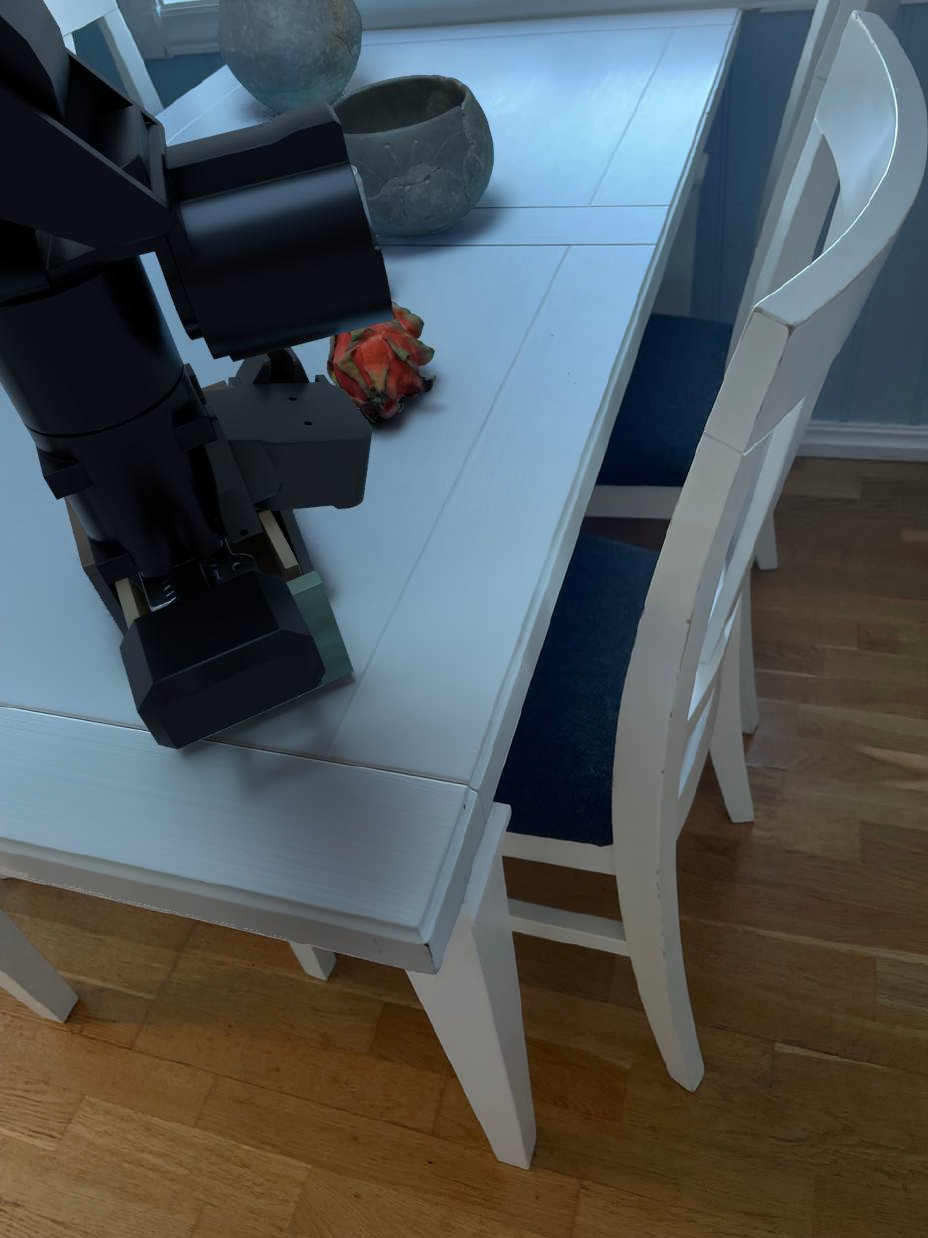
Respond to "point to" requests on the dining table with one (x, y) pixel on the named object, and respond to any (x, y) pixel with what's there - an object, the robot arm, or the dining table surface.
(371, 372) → the dragon fruit
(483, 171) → the bowl
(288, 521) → the cabinet
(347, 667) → the drawer
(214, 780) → the dining table surface
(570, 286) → the dining table surface
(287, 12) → the vase
